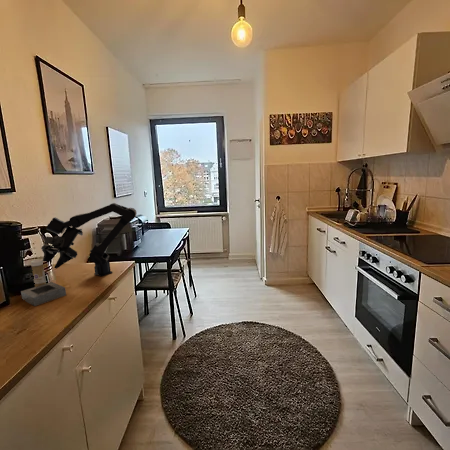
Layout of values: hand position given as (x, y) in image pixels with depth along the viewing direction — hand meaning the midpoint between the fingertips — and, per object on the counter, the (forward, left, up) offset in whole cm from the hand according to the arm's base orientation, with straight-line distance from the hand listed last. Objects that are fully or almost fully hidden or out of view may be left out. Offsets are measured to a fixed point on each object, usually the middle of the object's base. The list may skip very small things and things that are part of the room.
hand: (48, 267), depth 130 cm
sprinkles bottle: (+5, +1, -9) cm, 10 cm away
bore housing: (+8, +11, -9) cm, 17 cm away
